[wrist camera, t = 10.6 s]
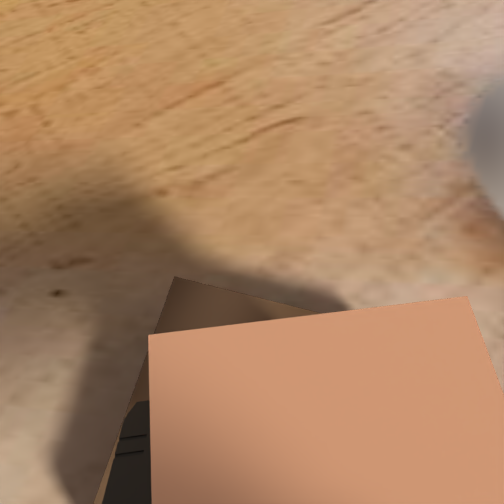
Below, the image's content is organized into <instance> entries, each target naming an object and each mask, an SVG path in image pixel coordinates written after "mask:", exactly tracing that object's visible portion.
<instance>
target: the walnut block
mask: <svg viewBox="0 0 504 504" xmlns="http://www.w3.org/2000/svg"><path fill="white" fill-rule="evenodd" d="M316 314H322V313H318V312H314V311H310V310H306V309H302V308H298V307H294V306H290V305H286V304H282V303H278V302H274V301H270V300H266V299H262V298H258V297H254V296H250V295H246V294H242V293H238V292H234V291H230V290H226V289H222V288H218V287H214V286H210V285H206V284H202V283H198V282H194V281H190V280H186V279H182V278H178V277H174V279H173V282H172V285H171V288H170V290H169V293H168V296H167V299H166V302H165V304H164V307H163V310H162V313H161V316H160V318H159V321H158V324H157V327H156V330H155V332H154V334H160V333H168V332H176V331H185V330H193V329H201V328H209V327H217V326H226V325H234V324H242V323H250V322H258V321H267V320H275V319H283V318H291V317H300V316H308V315H316ZM147 400H150V397H149V349H148V352H147V355H146V358H145V360H144V363H143V366H142V369H141V372H140V374H139V377H138V380H137V383H136V386H135V388H134V391H133V394H132V397H131V400H130V402H129V405H128V408H127V411H126V414H125V416H124V418H125V417H126V416H127V414H128V413H129V412H130V410H131V409H132V408H133V406H134V405H135V404H136V402H139V401H147ZM123 421H124V419H123ZM122 424H123V422H122ZM121 428H122V425H121ZM121 428H120V430H119V433H118V436H117V439H116V442H115V444H114V447H113V450H112V453H111V456H110V458H109V461H108V464H107V467H106V470H105V472H104V475H103V478H102V481H101V484H100V486H99V489H98V492H97V495H96V498H95V500H94V503H93V504H102V501H103V497H104V493H105V489H106V486H107V482H108V478H109V474H110V470H111V466H112V463H113V459H114V458H115V451H116V447H117V443H118V442H119V436H120V432H121Z"/></svg>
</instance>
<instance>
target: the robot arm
mask: <svg viewBox="0 0 504 504" xmlns="http://www.w3.org/2000/svg"><path fill="white" fill-rule="evenodd" d="M102 504H152V493H151V445H150V400H147V401H139V402H136V404H135V405H134V406H133V408H132V409H131V410H130V412H129V413H128V414H127V416H126V417H125V418H124V421H123V424H122V428H121V432H120V436H119V442H118V443H117V447H116V451H115V458H114V459H113V463H112V466H111V470H110V474H109V478H108V482H107V486H106V489H105V493H104V497H103V501H102Z"/></svg>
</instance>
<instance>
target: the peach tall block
mask: <svg viewBox="0 0 504 504" xmlns="http://www.w3.org/2000/svg"><path fill="white" fill-rule="evenodd" d="M148 349H149V397H150V445H151V493H152V504H504V394H503V391H502V389H501V386H500V383H499V380H498V378H497V375H496V372H495V370H494V367H493V364H492V362H491V359H490V356H489V354H488V351H487V348H486V345H485V343H484V340H483V337H482V335H481V332H480V329H479V327H478V324H477V321H476V319H475V316H474V313H473V310H472V308H471V305H470V302H469V300H468V297H467V296H464V297H456V298H447V299H439V300H431V301H423V302H414V303H406V304H398V305H390V306H382V307H373V308H365V309H357V310H349V311H341V312H332V313H324V314H316V315H308V316H300V317H291V318H283V319H275V320H267V321H258V322H250V323H242V324H234V325H226V326H217V327H209V328H201V329H193V330H185V331H176V332H168V333H160V334H152V335H148Z"/></svg>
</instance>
